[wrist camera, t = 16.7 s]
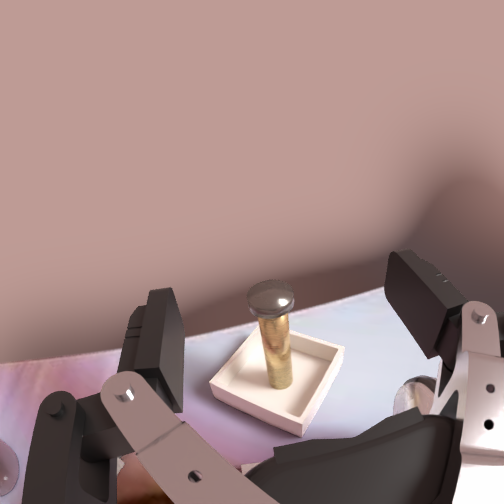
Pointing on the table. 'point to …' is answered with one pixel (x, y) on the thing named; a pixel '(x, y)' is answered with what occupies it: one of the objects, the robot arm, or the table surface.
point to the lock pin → (274, 328)
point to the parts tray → (273, 400)
